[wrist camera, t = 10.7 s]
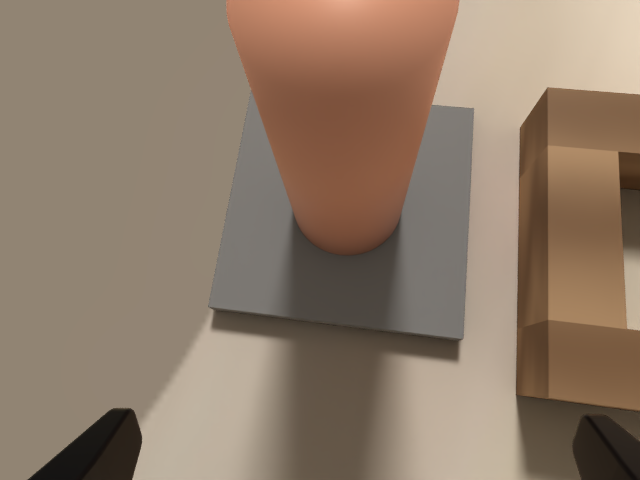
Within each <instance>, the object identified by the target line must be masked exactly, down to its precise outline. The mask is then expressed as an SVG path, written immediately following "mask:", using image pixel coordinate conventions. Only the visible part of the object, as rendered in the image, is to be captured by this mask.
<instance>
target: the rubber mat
mask: <svg viewBox="0 0 640 480" xmlns="http://www.w3.org/2000/svg"><path fill="white" fill-rule="evenodd" d="M473 119H474V108H463V107H451V106H439V105H431V109H430V112H429V116H428V120H427V123H426V127H425V130H424V134H423V137H422V141H421V144H420V148H419V151H418V155H417V159H416V162H415V166H414V169H413V173H412V176H411V180H410V183H409V187H408V191H407V194H406V198H405V201H404V205H403V208H402V212H401V215H400V219H399V222H398V224H397V226H396V228H395V230H394V231H393V233H392V234H391V235H390V237H389V238H388V239H387V240H386V241H385V242H384V243H382V244H381V245H380V246H378V247H377V248H375V249H373V250H371V251H368V252H365V253H362V254H358V255H349V256H348V255H337V254H332V253H329V252H326V251H324V250H322V249H320V248H318V247H317V246H315V245H314V244H312V243H311V242H310V241H309V240H308V239H307V238H306V237H305V236H304V234H303V233H302V232H301V230H300V228H299V226H298V224H297V221H296V218H295V216H294V213H293V210H292V207H291V204H290V201H289V198H288V195H287V192H286V189H285V186H284V184H283V181H282V178H281V175H280V172H279V169H278V166H277V163H276V160H275V157H274V154H273V151H272V149H271V146H270V143H269V140H268V137H267V134H266V131H265V128H264V125H263V122H262V119H261V117H260V114H259V111H258V108H257V105H256V102H255V99H254V96H253V93H252V90H251V93H250V98H249V104H248V108H247V113H246V118H245V124H244V128H243V133H242V139H241V143H240V148H239V154H238V158H237V164H236V169H235V174H234V179H233V184H232V189H231V194H230V199H229V204H228V209H227V214H226V219H225V224H224V229H223V234H222V239H221V244H220V249H219V255H218V259H217V264H216V269H215V274H214V280H213V284H212V290H211V294H210V299H209V305H208V307H210V308H211V309H213V310H221V311H228V312H236V313H244V314H252V315H260V316H268V317H276V318H283V319H291V320H299V321H307V322H315V323H323V324H331V325H338V326H346V327H354V328H362V329H370V330H378V331H386V332H393V333H401V334H409V335H417V336H425V337H433V338H441V339H448V340H456V341H459V340H462V339H463V336H464V314H465V293H466V271H467V249H468V228H469V206H470V184H471V163H472V141H473Z"/></svg>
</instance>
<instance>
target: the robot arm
mask: <svg viewBox="0 0 640 480" xmlns="http://www.w3.org/2000/svg"><path fill="white" fill-rule="evenodd" d="M141 445H142V434H141V431H140V427H139V424H138V421H137V418H136V415H135V412H134V410H132V409H131V408H113V409H111V410H110V411H108V412H107V413H106V414H105V415H103V416H102V417H101V418H100V419H99V420H97V421H96V422H95V423H94V424H93V425H92V426H90V427H89V428H88V429H87V430H86V431H85V432H83V433H82V434H81V435H80V436H79V437H78V438H76V439H75V440H74V441H73V442H72V443H70V444H69V445H68V446H67V447H66V448H64V449H63V450H62V451H61V452H60V453H59V454H57V455H56V456H55V457H54V458H53V459H52V460H50V461H49V462H48V463H47V464H46V465H45V466H43V467H42V468H41V469H40V470H39V471H37V472H36V473H35V474H34V475H33V476H32V477H30V478H29V479H28V480H132V478H133V475H134V471H135V467H136V464H137V460H138V457H139V453H140V449H141ZM572 447H573V454H574V458H575V461H576V464H577V467H578V470H579V474H580V477H581V480H640V442H639V441H638V440H637V439H636V438H634V437H633V436H632V435H631V434H629V433H628V432H627V431H626V430H624V429H623V428H622V427H621V426H619V425H618V424H617V423H616V422H614V421H613V420H612V419H611V418H609V417H608V416H606V415H602V414H585V415H583V416H582V417H581V418H580V421H579V424H578V427H577V430H576V433H575V436H574V439H573V445H572Z"/></svg>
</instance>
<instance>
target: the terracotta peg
mask: <svg viewBox="0 0 640 480" xmlns="http://www.w3.org/2000/svg"><path fill="white" fill-rule="evenodd" d="M458 6H459V0H227V16H228V22H229V26H230V29H231V32H232V35H233V38H234V41H235V44H236V47H237V50H238V53H239V55H240V58H241V61H242V64H243V67H244V70H245V73H246V76H247V79H248V82H249V84H250V87H251V90H252V93H253V96H254V99H255V102H256V105H257V108H258V111H259V114H260V117H261V119H262V122H263V125H264V128H265V131H266V134H267V137H268V140H269V143H270V146H271V149H272V151H273V154H274V157H275V160H276V163H277V166H278V169H279V172H280V175H281V178H282V181H283V184H284V186H285V189H286V192H287V195H288V198H289V201H290V204H291V207H292V210H293V213H294V216H295V218H296V221H297V224H298V226H299V228H300V230H301V232H302V233H303V234H304V236H305V237H306V238H307V239H308V240H309V241H310V242H311V243H312V244H314V245H315V246H317V247H318V248H320V249H322V250H324V251H326V252H329V253H332V254H337V255H348V256H349V255H358V254H362V253H365V252H368V251H371V250H373V249H375V248H377V247H378V246H380V245H381V244H382V243H384V242H385V241H386V240H387V239H388V238H389V237H390V235H391V234H392V233H393V231H394V230H395V228H396V226H397V224H398V222H399V219H400V215H401V212H402V208H403V205H404V201H405V198H406V194H407V191H408V187H409V183H410V180H411V176H412V173H413V169H414V166H415V162H416V159H417V155H418V151H419V148H420V144H421V141H422V137H423V134H424V130H425V127H426V123H427V120H428V116H429V112H430V109H431V105H432V102H433V98H434V95H435V91H436V88H437V84H438V80H439V77H440V73H441V70H442V66H443V63H444V59H445V56H446V52H447V48H448V45H449V41H450V38H451V34H452V31H453V27H454V24H455V20H456V16H457V13H458Z"/></svg>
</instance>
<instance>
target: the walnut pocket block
mask: <svg viewBox="0 0 640 480" xmlns="http://www.w3.org/2000/svg"><path fill="white" fill-rule="evenodd" d="M620 188H625V189H636V190H640V95H638V94H625V93H612V92H599V91H586V90H574V89H561V88H547V89H546V91H545V92H544V94H543V95H542V96H541V98H540V99H539V101H538V102H537V104H536V105H535V107H534V108H533V110H532V111H531V113H530V114H529V115H528V117H527V118H526V120H525V121H524V123H523V124H522V126H521V127H520V184H519V251H518V319H517V387H516V395H521V396H528V397H535V398H543V399H550V400H557V401H565V402H572V403H579V404H587V405H594V406H602V407H609V408H616V409H624V410H631V411H638V412H640V331H638V330H630V329H627V321H626V301H625V281H624V260H623V240H622V220H621V200H620Z"/></svg>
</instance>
